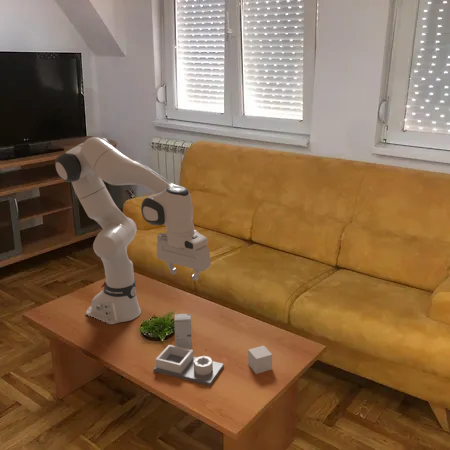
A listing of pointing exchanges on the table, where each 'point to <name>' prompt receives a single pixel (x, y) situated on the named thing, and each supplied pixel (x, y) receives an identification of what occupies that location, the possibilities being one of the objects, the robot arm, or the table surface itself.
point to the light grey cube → (260, 359)
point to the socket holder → (187, 365)
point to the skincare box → (183, 331)
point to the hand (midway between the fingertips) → (184, 276)
